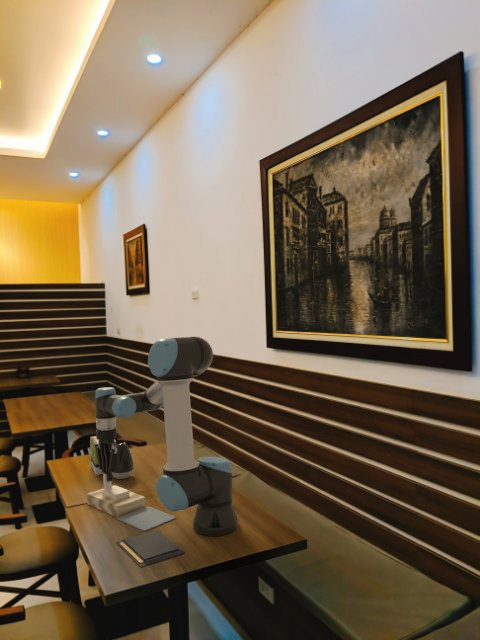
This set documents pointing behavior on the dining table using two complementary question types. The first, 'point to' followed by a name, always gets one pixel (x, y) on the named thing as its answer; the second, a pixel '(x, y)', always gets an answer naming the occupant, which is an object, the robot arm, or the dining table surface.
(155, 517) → the mat
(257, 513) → the dining table surface
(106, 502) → the riser
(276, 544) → the dining table surface
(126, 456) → the pump dispenser
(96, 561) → the dining table surface
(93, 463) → the tea box
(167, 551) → the dark grey flat slab
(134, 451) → the dining table surface
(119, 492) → the cream rectangular block
